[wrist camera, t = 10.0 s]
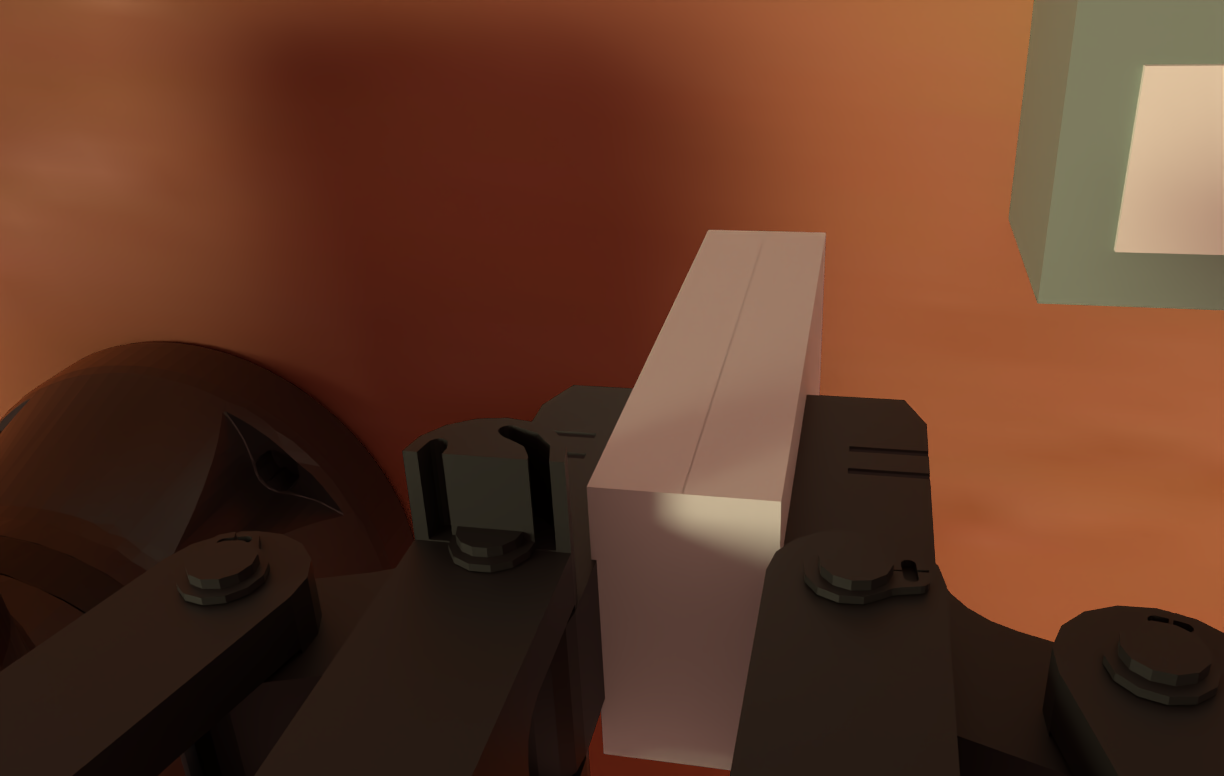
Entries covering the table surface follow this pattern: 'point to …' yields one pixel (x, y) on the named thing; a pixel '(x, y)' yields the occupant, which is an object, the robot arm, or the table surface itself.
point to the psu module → (1123, 154)
